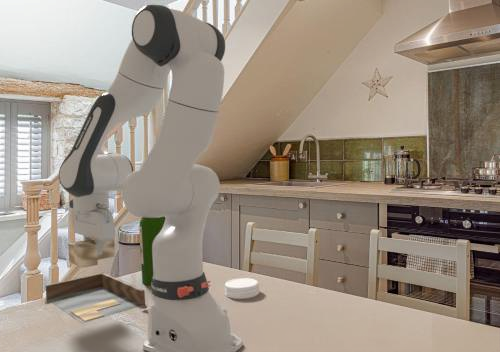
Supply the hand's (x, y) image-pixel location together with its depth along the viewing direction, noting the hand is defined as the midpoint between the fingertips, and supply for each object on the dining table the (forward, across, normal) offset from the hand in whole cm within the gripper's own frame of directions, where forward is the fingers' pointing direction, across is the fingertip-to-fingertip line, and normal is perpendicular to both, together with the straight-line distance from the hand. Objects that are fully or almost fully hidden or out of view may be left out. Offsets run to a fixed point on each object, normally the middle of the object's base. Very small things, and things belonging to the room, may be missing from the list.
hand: (94, 253), depth 116 cm
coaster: (+16, -20, -35) cm, 43 cm away
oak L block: (+2, -3, +1) cm, 3 cm away
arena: (+15, +5, -1) cm, 16 cm away
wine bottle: (+16, +9, -23) cm, 30 cm away
